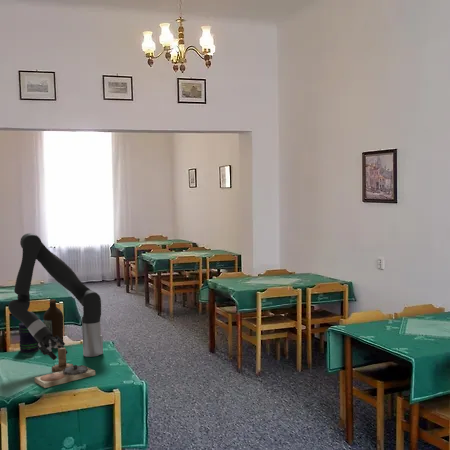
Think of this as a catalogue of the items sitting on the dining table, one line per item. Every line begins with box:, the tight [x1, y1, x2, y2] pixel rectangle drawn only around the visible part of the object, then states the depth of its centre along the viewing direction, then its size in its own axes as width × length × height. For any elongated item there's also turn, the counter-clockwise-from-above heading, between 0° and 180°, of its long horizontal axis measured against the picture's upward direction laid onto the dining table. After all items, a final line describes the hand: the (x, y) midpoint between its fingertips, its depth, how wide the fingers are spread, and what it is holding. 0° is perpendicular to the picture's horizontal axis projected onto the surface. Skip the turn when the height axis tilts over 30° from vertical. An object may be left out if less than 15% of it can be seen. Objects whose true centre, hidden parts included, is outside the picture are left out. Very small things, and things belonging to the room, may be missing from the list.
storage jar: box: [18, 321, 40, 354], centre depth 297 cm, size 10×10×15 cm
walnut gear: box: [51, 347, 74, 373], centre depth 262 cm, size 10×10×10 cm
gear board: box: [34, 364, 96, 389], centre depth 249 cm, size 24×11×5 cm, turn 132°
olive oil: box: [42, 298, 64, 344], centre depth 308 cm, size 11×11×25 cm
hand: (60, 356), depth 262 cm, fingers open, 8 cm apart
